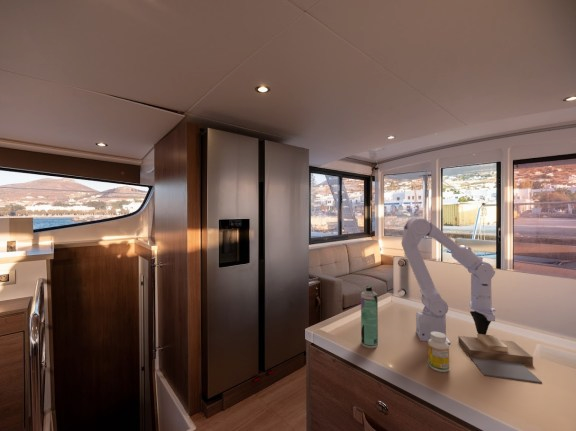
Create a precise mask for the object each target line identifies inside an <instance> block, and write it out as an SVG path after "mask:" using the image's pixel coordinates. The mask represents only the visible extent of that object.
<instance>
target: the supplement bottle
mask: <svg viewBox="0 0 576 431" xmlns="http://www.w3.org/2000/svg"><path fill="white" fill-rule="evenodd" d="M430 337H431V339H429V341H427V357H428V358H427V361H428V362H427V364H428V366H429V367H430V369H432V370H434V371H436V372H440V373H447V372H449V370H450V345H449V344H448V343H447V342H446V337H447V334H446V335H445V334H443V333H440V332H431V335H430Z"/></svg>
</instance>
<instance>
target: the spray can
mask: <svg viewBox="0 0 576 431" xmlns="http://www.w3.org/2000/svg"><path fill="white" fill-rule="evenodd" d="M365 288H366V289H364V291H362V292H361V293H360V314H361V315H360V320H361V321H360V325H361V327H360V331H361V338H360V340H361V342H360V343H361V345H362V346H363V348H364V347H365V348H367V349H376V348H378V346H379V327H378V326H379V324H378V322H379V320H378V315H379V313H378V311H379V310H378V309H379V308H378V293H377V292H375V291H374V290H373V289H372V288H373V287H372V286H371V285H367V286H366V287H365Z"/></svg>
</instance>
